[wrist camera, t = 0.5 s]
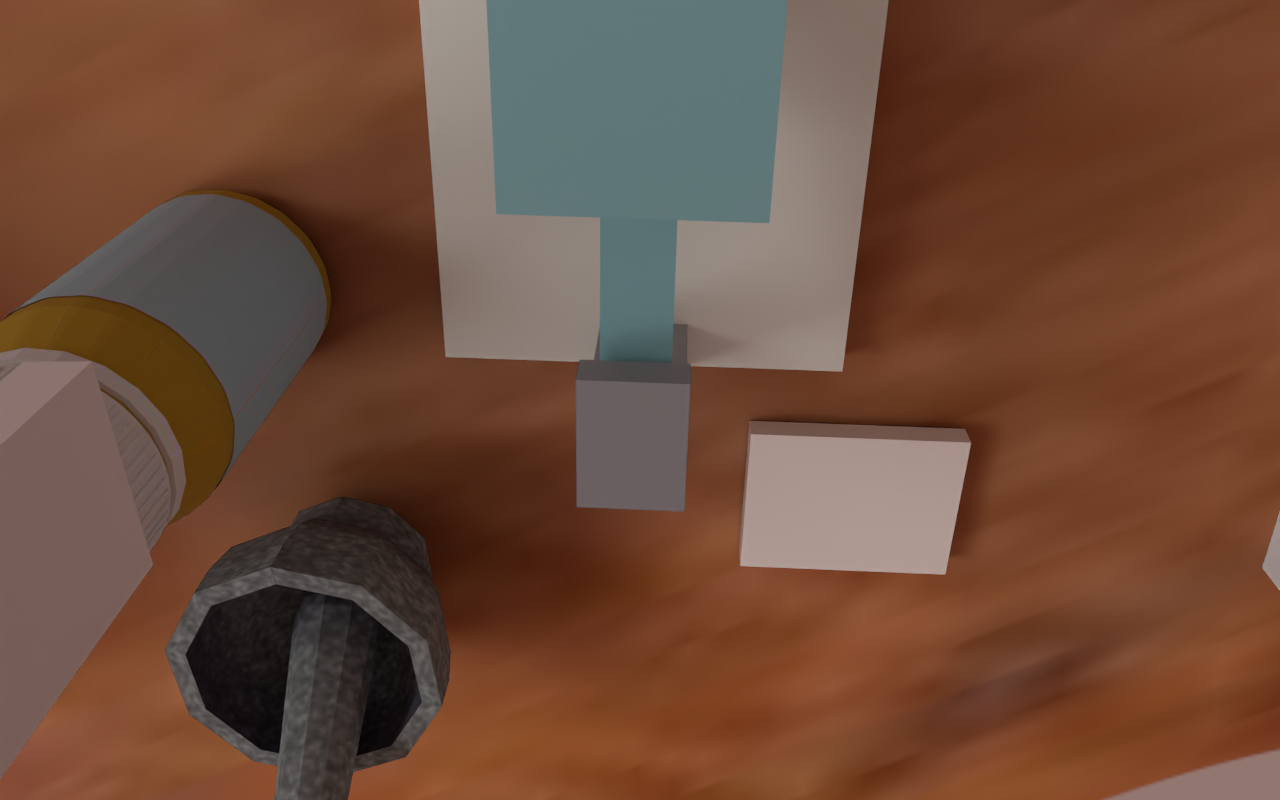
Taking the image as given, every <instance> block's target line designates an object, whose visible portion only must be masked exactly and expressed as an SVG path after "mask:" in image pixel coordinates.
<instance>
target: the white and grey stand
mask: <svg viewBox="0 0 1280 800" xmlns="http://www.w3.org/2000/svg"><path fill="white" fill-rule="evenodd" d="M888 2H889V0H788V2H787V15H786V27H785V39H784V51H783V63H782V76H781V88H780V100H779V112H778V125H777V137H776V149H775V161H774V173H773V186H772V198H771V210H770V222H769V223H748V222H718V221H687V220H677V244H676V270H675V296H674V322H673V348H672V363H659V362H632V361H604V360H600V218H596V217H566V216H535V215H505V214H496V199H495V177H494V155H493V134H492V112H491V90H490V68H489V47H488V25H487V3H486V0H419V7H420V21H421V34H422V48H423V61H424V74H425V88H426V101H427V115H428V128H429V141H430V155H431V168H432V182H433V195H434V208H435V222H436V235H437V249H438V262H439V275H440V289H441V302H442V316H443V329H444V343H445V356H446V357H458V358H485V359H513V360H540V361H567V362H579V366H578V371H577V376H576V475H577V507H586V508H610V509H635V510H660V511H684V508H685V488H686V467H687V447H688V426H689V405H690V385H691V366H703V367H731V368H758V369H785V370H812V371H840V372H842V371H843V363H844V355H845V347H846V339H847V331H848V323H849V315H850V307H851V299H852V291H853V283H854V275H855V267H856V259H857V251H858V243H859V235H860V227H861V219H862V211H863V203H864V195H865V187H866V179H867V171H868V163H869V155H870V147H871V139H872V131H873V123H874V115H875V106H876V98H877V90H878V82H879V74H880V66H881V58H882V50H883V42H884V34H885V26H886V18H887V10H888Z"/></svg>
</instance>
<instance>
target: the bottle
mask: <svg viewBox="0 0 1280 800" xmlns="http://www.w3.org/2000/svg"><path fill="white" fill-rule="evenodd" d="M330 306H331V289H330V285H329V281H328V276H327V272H326V268H325V266H324V263H323V261H322V260H321V258H320V256H319V254H318V253H317V251H316V249H315V247H314V246H313V244H312V242H311V241H310V239H309V238H308V237H307V236H306V234H305V233H304V232H303V231H302V230H301V229H300V228H299V227H297V226H296V225H295V224H294V223H293V222H292V221H291V220H290V219H289V218H288V217H287V216H286V215H284V214H283V213H282V212H280V211H279V210H277V209H275V208H273V207H271V206H270V205H268V204H266V203H264V202H263V201H261V200H259V199H257V198H254V197H252V196H248V195H244V194H240V193H236V192H232V191H228V190H220V189H214V190H197V191H191V192H187V193H184V194H182V195H180V196H177V197H175V198H172V199H170V200H168V201H166V202H164V203H163V204H161V205H159V206H157V207H156V208H154V209H153V210H151V211H150V212H149V213H147V214H146V215H144V216H143V217H142V218H140V219H139V220H138V221H136V222H135V223H134V224H132V225H131V226H129V227H128V228H127V229H125V230H124V231H123V232H121V233H120V234H118V235H117V236H116V237H114V238H113V239H112V240H110V241H109V242H107V243H106V244H105V245H103V246H102V247H101V248H99V249H98V250H96V251H95V252H94V253H92V254H91V255H90V256H88V257H87V258H86V259H84V260H83V261H81V262H80V263H79V264H77V265H76V266H75V267H73V268H72V269H70V270H69V271H68V272H66V273H65V274H64V275H62V276H61V277H59V278H58V279H57V280H55V281H54V282H53V283H51V284H50V285H48V286H47V287H46V288H44V289H43V290H42V291H40V292H39V293H38V294H36V295H35V296H33V297H32V298H31V299H29V300H28V301H27V302H25V303H24V304H22V305H21V306H20V307H18V308H17V309H16V310H14V311H13V312H11V313H10V314H9V315H8V316H7V317H6V318H5V319H4V320H3V321H1V322H0V381H1V380H2V379H3V378H4V377H6V376H7V375H8V374H9V373H11V372H12V371H13V370H14V369H15V368H17V367H18V366H19V365H20V364H21V363H23V362H67V361H92V363H93V367H94V370H95V373H96V377H97V380H98V383H99V387H100V390H101V393H102V396H103V400H104V403H105V406H106V410H107V413H108V416H109V420H110V423H111V426H112V430H113V433H114V436H115V440H116V443H117V446H118V449H119V453H120V456H121V459H122V463H123V466H124V469H125V473H126V476H127V479H128V483H129V486H130V489H131V493H132V496H133V499H134V502H135V506H136V509H137V512H138V516H139V519H140V522H141V526H142V529H143V532H144V536H145V539H146V542H147V546H148V549H149V552H150V551H151V550H152V548H153V547H154V545H155V544H156V543H157V540H158V539H159V538H160V536H161V535H162V531H163V530H164V529H165V527H166V526H167V525H169V524H171V523H173V522H175V521H177V520H179V519H181V518H182V517H184V516H186V515H188V514H189V513H191V512H192V511H193V510H194V509H195V508H197V507H198V506H199V505H200V504H201V503H203V502H204V501H205V500H206V499H207V498H208V497H209V496H210V494H211V493H212V492H213V490H214V489H215V488H216V487H217V486H218V485H219V483H220V482H221V481H222V479H223V478H224V477H225V475H226V474H227V472H228V471H229V470H230V468H231V467H232V465H233V464H234V462H235V461H236V460H237V458H238V457H239V455H240V454H241V453H242V451H243V450H244V448H245V447H246V445H247V444H248V443H249V441H250V440H251V438H252V437H253V436H254V434H255V433H256V431H257V430H258V429H259V427H260V426H261V424H262V423H263V421H264V420H265V419H266V417H267V416H268V414H269V413H270V412H271V410H272V409H273V407H274V406H275V404H276V403H277V402H278V400H279V399H280V397H281V396H282V395H283V393H284V392H285V390H286V389H287V388H288V386H289V385H290V383H291V382H292V380H293V379H294V378H295V376H296V375H297V373H298V372H299V371H300V369H301V368H302V366H303V365H304V363H305V362H306V361H307V359H308V358H309V356H310V355H311V354H312V352H313V351H314V349H315V347H316V345H317V344H318V342H319V340H320V338H321V336H322V334H323V332H324V331H325V329H326V327H327V324H328V321H329V315H330Z"/></svg>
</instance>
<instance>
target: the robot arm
mask: <svg viewBox="0 0 1280 800" xmlns="http://www.w3.org/2000/svg"><path fill="white" fill-rule="evenodd" d="M152 566H153V562H152V559H151V555H150V552H149V549H148V546H147V542H146V539H145V536H144V532H143V529H142V526H141V522H140V519H139V516H138V512H137V509H136V506H135V502H134V499H133V496H132V493H131V489H130V486H129V483H128V479H127V476H126V473H125V469H124V466H123V463H122V459H121V456H120V453H119V449H118V446H117V443H116V440H115V436H114V433H113V430H112V426H111V423H110V420H109V416H108V413H107V410H106V406H105V403H104V400H103V396H102V393H101V390H100V387H99V383H98V380H97V377H96V373H95V370H94V367H93V363H92V361H67V362H23V363H21V364H20V365H19V366H18V367H17V368H15V369H14V370H13V371H12V372H11V373H9V374H8V375H7V376H6V377H4V378H3V379H2V380H1V381H0V779H1V778H2V776H3V775H4V773H5V772H6V771H7V769H8V768H9V766H10V765H11V764H12V762H13V761H14V759H15V758H16V757H17V755H18V754H19V752H20V751H21V750H22V748H23V747H24V745H25V744H26V743H27V741H28V740H29V738H30V737H31V736H32V734H33V733H34V731H35V730H36V729H37V727H38V726H39V724H40V723H41V722H42V720H43V719H44V717H45V716H46V715H47V713H48V712H49V710H50V709H51V708H52V706H53V705H54V703H55V702H56V701H57V699H58V698H59V696H60V695H61V694H62V692H63V691H64V689H65V688H66V686H67V685H68V684H69V682H70V681H71V679H72V678H73V677H74V675H75V674H76V672H77V671H78V670H79V668H80V667H81V665H82V664H83V663H84V661H85V660H86V658H87V657H88V656H89V654H90V653H91V651H92V650H93V649H94V647H95V646H96V644H97V643H98V642H99V640H100V639H101V637H102V636H103V635H104V633H105V632H106V630H107V629H108V628H109V626H110V625H111V623H112V622H113V621H114V619H115V618H116V616H117V615H118V614H119V612H120V611H121V609H122V608H123V607H124V605H125V604H126V602H127V601H128V600H129V598H130V597H131V595H132V594H133V593H134V591H135V590H136V588H137V587H138V586H139V584H140V583H141V581H142V580H143V579H144V577H145V576H146V574H147V573H148V572H149V570H150V569H151V567H152ZM1262 568H1263V570H1264V571H1265V572H1266V573H1267V575H1268V576H1269V577H1270V579H1271V580H1272V581H1273V583H1274V584H1275V585H1276V587H1277V588H1278V589H1279V590H1280V512H1279V516H1278V519H1277V522H1276V525H1275V528H1274V531H1273V535H1272V538H1271V541H1270V544H1269V547H1268V551H1267V554H1266V557H1265V560H1264V563H1263V567H1262Z"/></svg>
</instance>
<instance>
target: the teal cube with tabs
mask: <svg viewBox="0 0 1280 800" xmlns="http://www.w3.org/2000/svg"><path fill="white" fill-rule="evenodd" d="M787 2H788V0H486V3H487V25H488V47H489V68H490V90H491V112H492V134H493V155H494V177H495V199H496V214H505V215H535V216H566V217H596V218H600V360H604V361H632V362H659V363H672V348H673V322H674V296H675V270H676V244H677V220H687V221H718V222H748V223H769V222H770V210H771V198H772V186H773V173H774V161H775V149H776V137H777V125H778V112H779V100H780V88H781V76H782V63H783V51H784V39H785V27H786V15H787Z"/></svg>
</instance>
